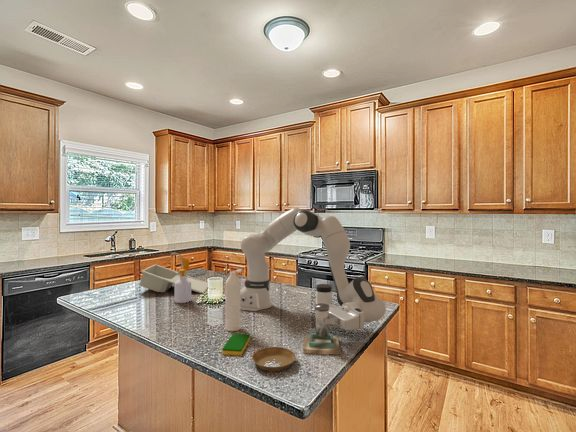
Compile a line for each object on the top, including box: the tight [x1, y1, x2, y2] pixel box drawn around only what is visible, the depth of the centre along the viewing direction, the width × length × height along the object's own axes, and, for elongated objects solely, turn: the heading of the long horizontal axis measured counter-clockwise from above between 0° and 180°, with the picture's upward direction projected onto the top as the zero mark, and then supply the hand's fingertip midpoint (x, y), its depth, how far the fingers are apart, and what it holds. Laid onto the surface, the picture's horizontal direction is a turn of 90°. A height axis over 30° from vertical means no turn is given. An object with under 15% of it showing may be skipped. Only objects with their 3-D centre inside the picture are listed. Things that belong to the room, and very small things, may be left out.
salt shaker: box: [314, 303, 329, 337], centre depth 119 cm, size 5×5×11 cm
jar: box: [315, 283, 333, 305], centre depth 165 cm, size 9×8×12 cm
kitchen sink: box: [139, 252, 208, 294], centre depth 202 cm, size 24×40×25 cm, turn 94°
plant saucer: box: [251, 346, 297, 372], centre depth 106 cm, size 15×15×3 cm
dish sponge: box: [221, 333, 251, 356], centre depth 119 cm, size 7×14×2 cm, turn 174°
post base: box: [302, 332, 341, 355], centre depth 119 cm, size 13×13×3 cm
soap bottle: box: [173, 257, 192, 304], centre depth 176 cm, size 9×9×25 cm
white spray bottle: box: [224, 268, 243, 332], centre depth 137 cm, size 9×6×25 cm
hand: (320, 318), depth 119 cm, fingers closed on salt shaker, 5 cm apart
